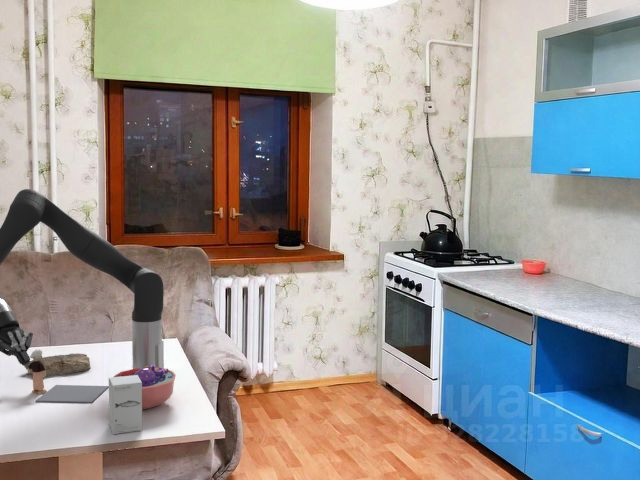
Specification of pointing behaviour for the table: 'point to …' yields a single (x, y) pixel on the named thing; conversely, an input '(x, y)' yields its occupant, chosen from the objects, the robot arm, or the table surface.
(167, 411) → the table surface
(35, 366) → the grandmother figurine
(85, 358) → the clay tablet
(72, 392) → the felt mat
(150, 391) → the cell model
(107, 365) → the table surface
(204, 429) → the table surface
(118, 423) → the supplement box
